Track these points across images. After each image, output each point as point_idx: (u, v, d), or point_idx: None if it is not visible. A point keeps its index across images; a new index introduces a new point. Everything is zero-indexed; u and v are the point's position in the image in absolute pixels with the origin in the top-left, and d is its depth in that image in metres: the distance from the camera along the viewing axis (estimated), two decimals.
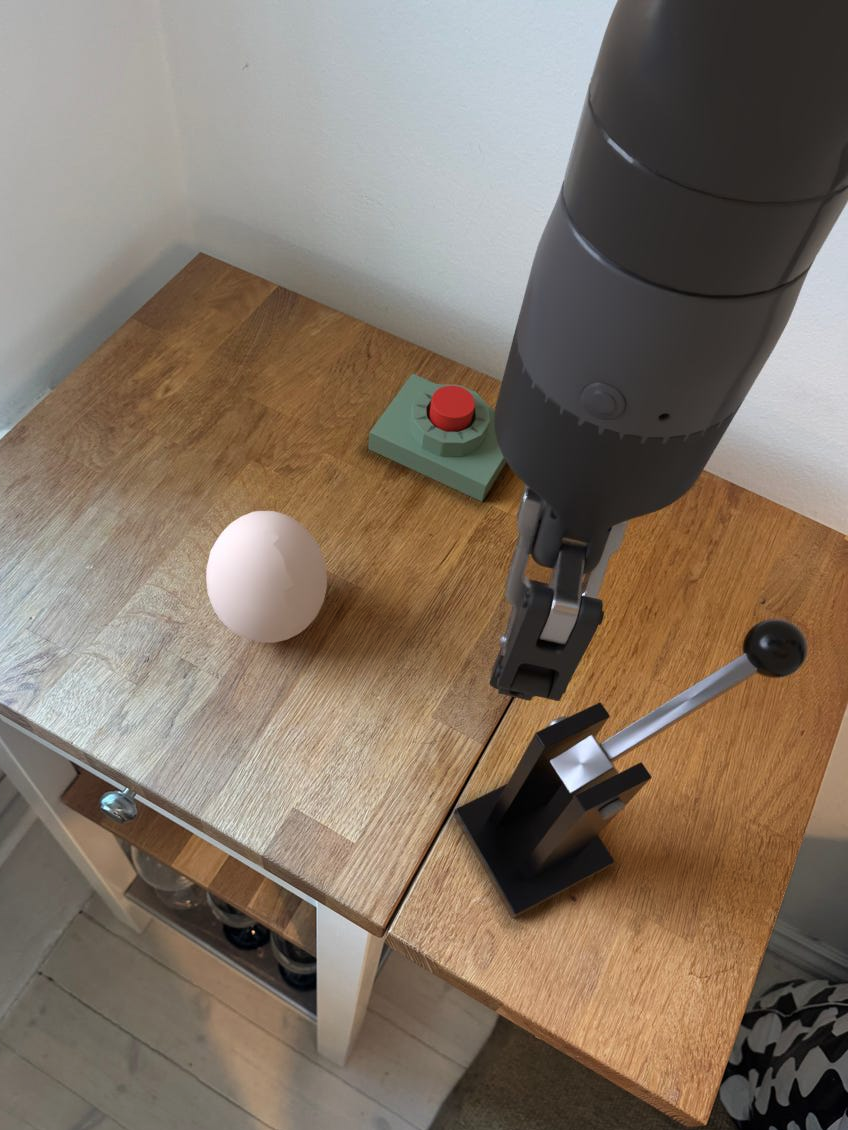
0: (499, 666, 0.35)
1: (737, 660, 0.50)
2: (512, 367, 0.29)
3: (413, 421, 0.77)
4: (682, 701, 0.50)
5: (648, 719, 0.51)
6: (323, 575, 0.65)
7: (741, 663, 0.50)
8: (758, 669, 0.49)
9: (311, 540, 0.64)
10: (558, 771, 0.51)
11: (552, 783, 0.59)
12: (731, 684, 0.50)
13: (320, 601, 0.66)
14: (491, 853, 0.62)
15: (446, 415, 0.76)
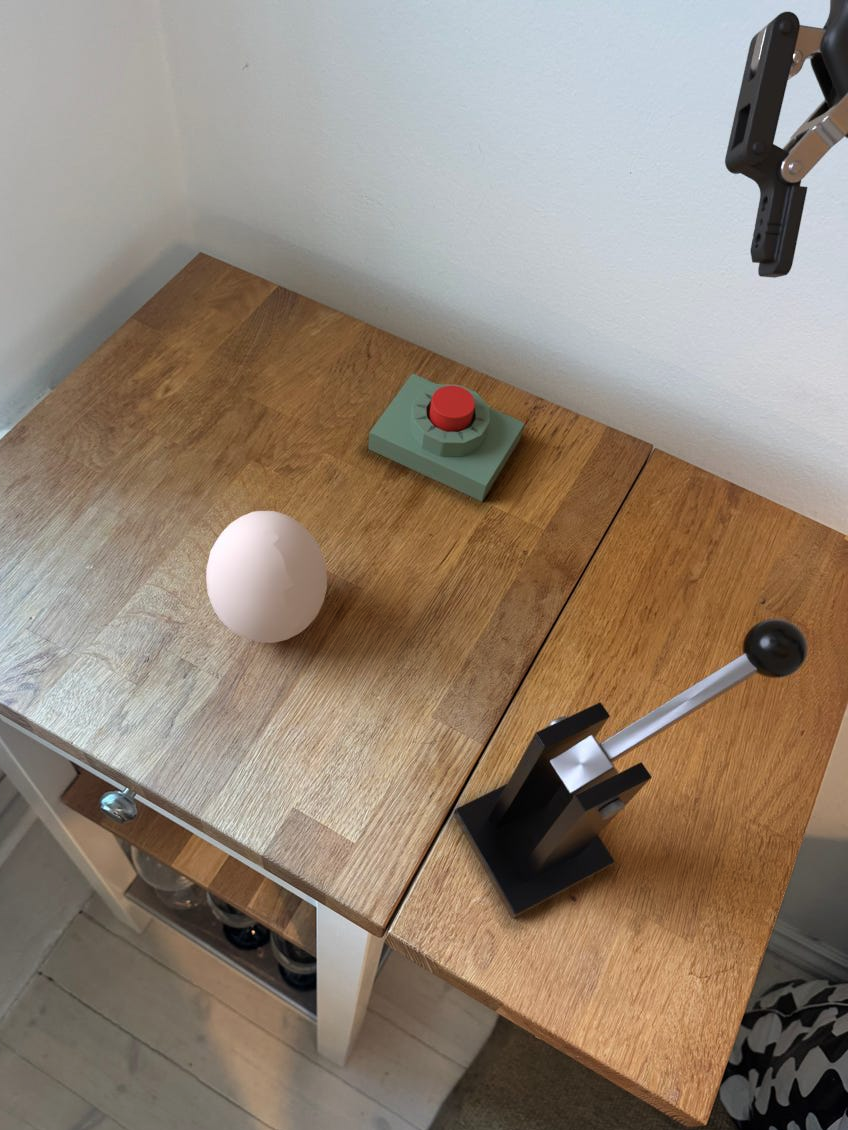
0: None
1: (737, 660, 0.50)
2: None
3: (413, 421, 0.77)
4: (682, 701, 0.50)
5: (648, 719, 0.51)
6: (323, 575, 0.65)
7: (741, 663, 0.50)
8: (758, 669, 0.49)
9: (311, 540, 0.64)
10: (558, 771, 0.51)
11: (552, 783, 0.59)
12: (731, 684, 0.50)
13: (320, 601, 0.66)
14: (491, 853, 0.62)
15: (446, 415, 0.76)
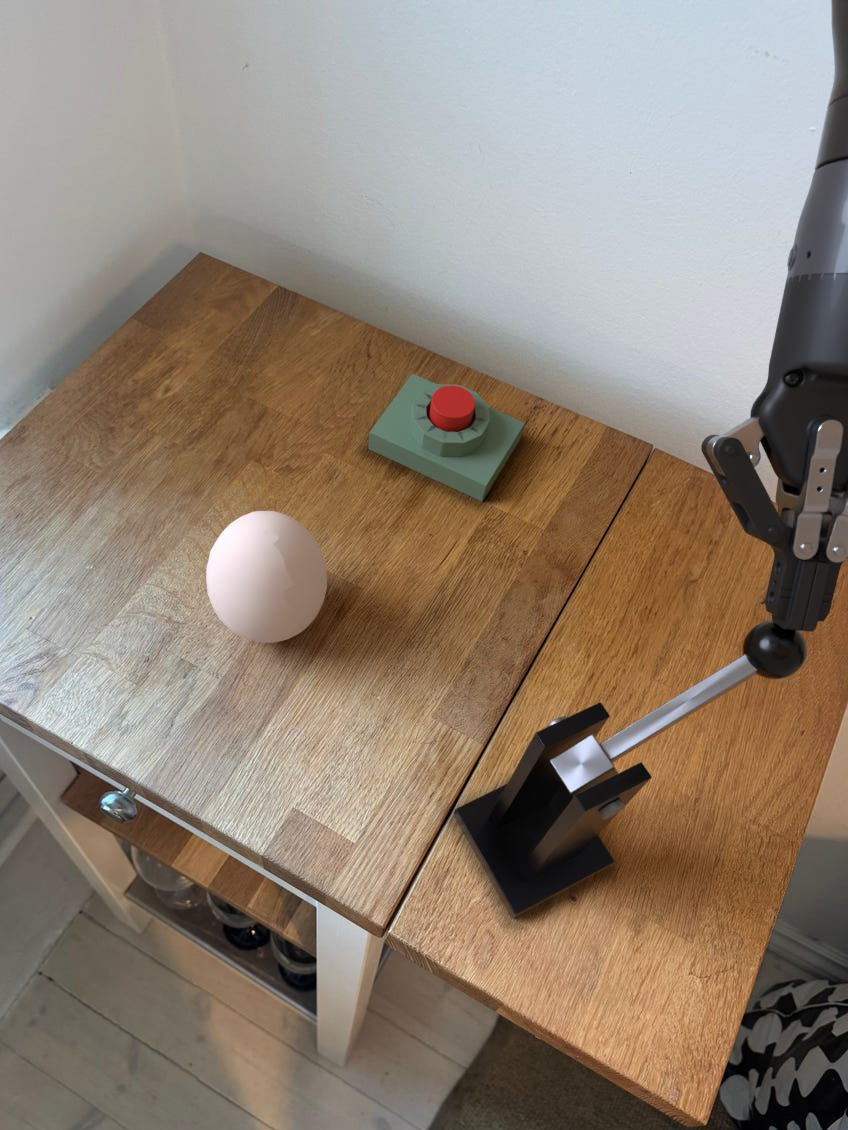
0: None
1: (737, 661, 0.50)
2: None
3: (413, 421, 0.77)
4: (682, 701, 0.51)
5: (649, 719, 0.51)
6: (323, 575, 0.65)
7: (741, 664, 0.50)
8: (758, 670, 0.50)
9: (311, 540, 0.64)
10: (558, 771, 0.51)
11: (552, 783, 0.59)
12: (731, 685, 0.50)
13: (320, 601, 0.66)
14: (491, 853, 0.62)
15: (446, 415, 0.76)
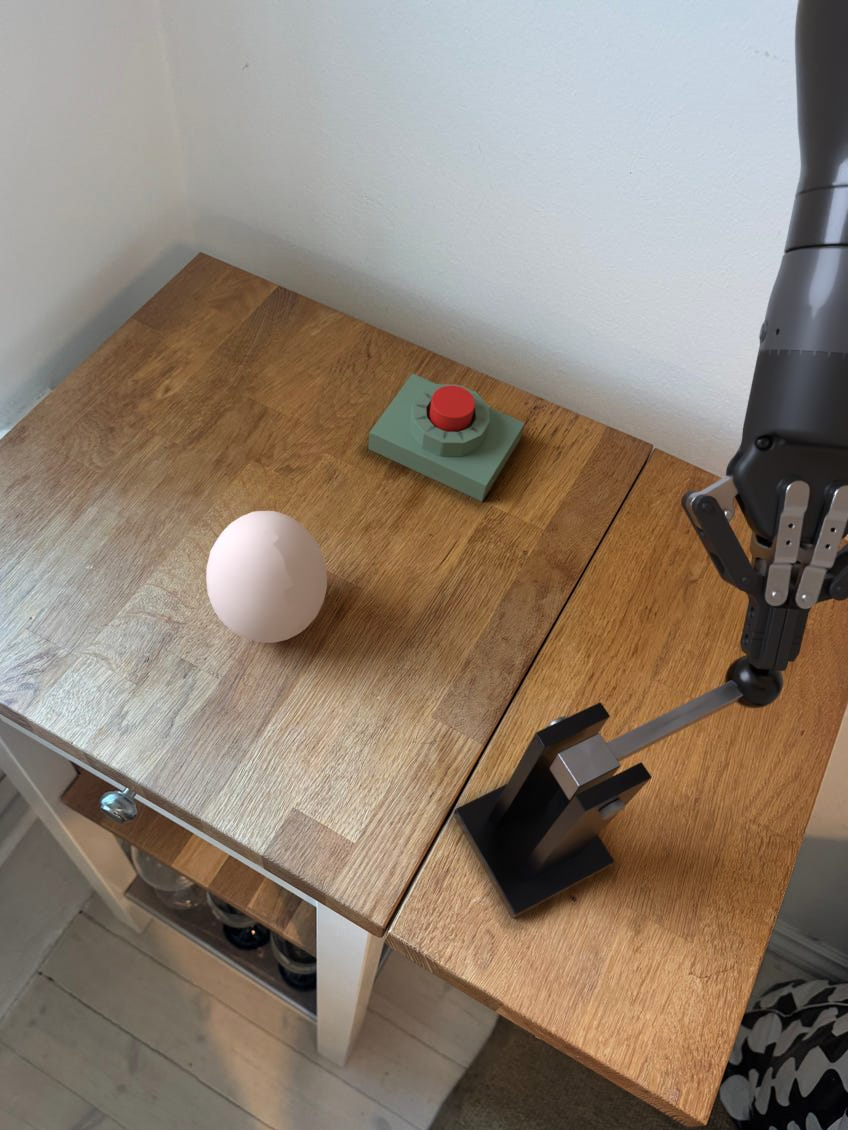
0: None
1: (725, 685, 0.54)
2: None
3: (413, 421, 0.77)
4: (678, 715, 0.53)
5: (648, 727, 0.53)
6: (323, 575, 0.65)
7: (729, 688, 0.54)
8: (744, 695, 0.54)
9: (311, 540, 0.64)
10: (567, 764, 0.51)
11: (552, 783, 0.59)
12: (721, 705, 0.53)
13: (320, 601, 0.66)
14: (491, 853, 0.62)
15: (446, 415, 0.76)
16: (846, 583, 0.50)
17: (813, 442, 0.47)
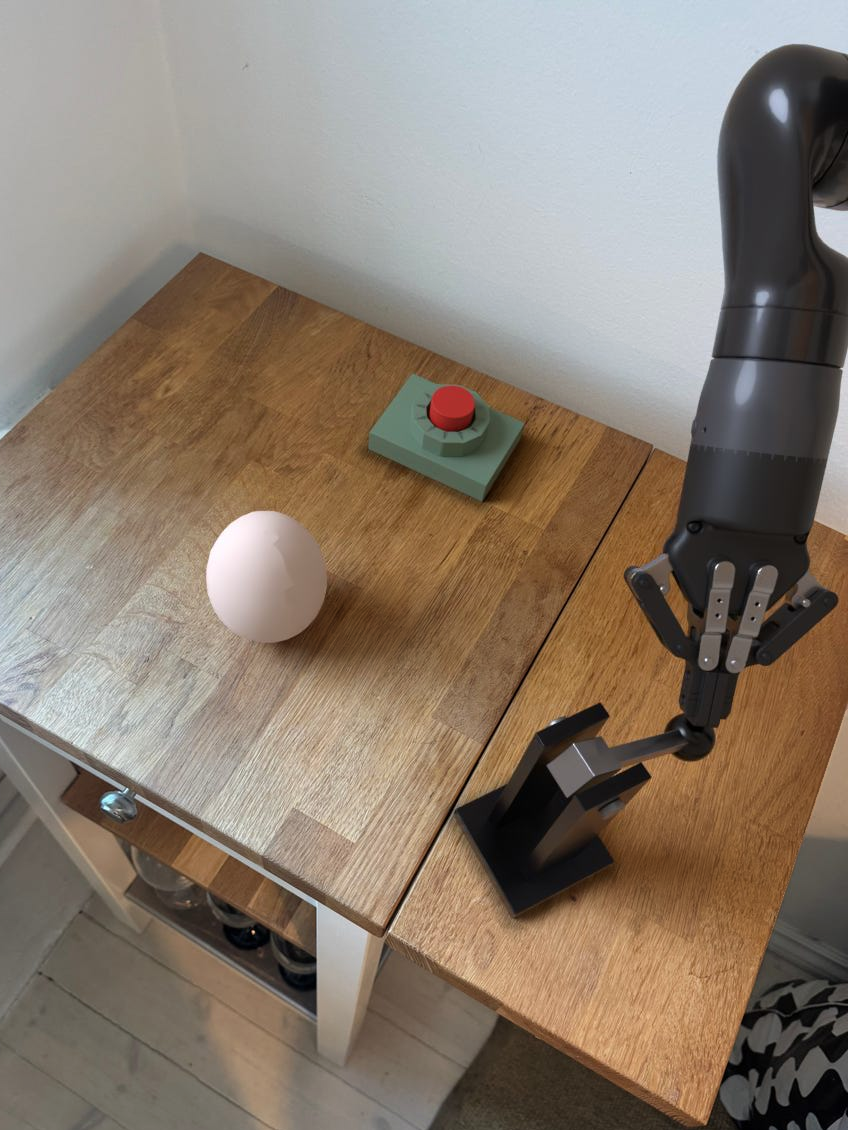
0: None
1: (676, 731, 0.59)
2: None
3: (413, 421, 0.77)
4: (649, 744, 0.56)
5: (629, 746, 0.55)
6: (323, 575, 0.65)
7: (678, 734, 0.59)
8: (689, 743, 0.59)
9: (311, 540, 0.64)
10: (582, 754, 0.50)
11: (552, 783, 0.59)
12: (676, 746, 0.58)
13: (320, 601, 0.66)
14: (491, 853, 0.62)
15: (446, 415, 0.76)
16: (771, 651, 0.56)
17: (736, 529, 0.52)
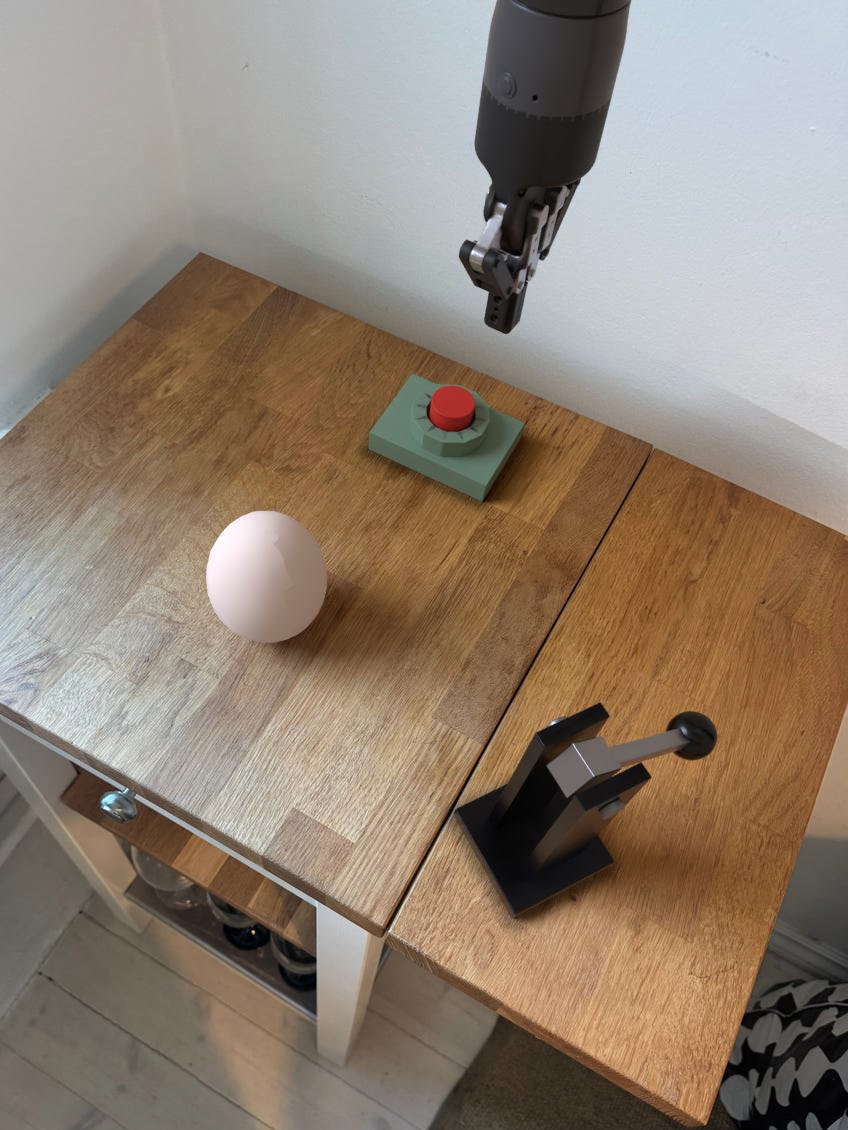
0: None
1: (677, 730, 0.59)
2: None
3: (413, 421, 0.77)
4: (650, 743, 0.56)
5: (630, 746, 0.55)
6: (323, 575, 0.65)
7: (680, 733, 0.58)
8: (690, 742, 0.59)
9: (311, 540, 0.64)
10: (581, 754, 0.50)
11: (552, 783, 0.59)
12: (677, 745, 0.57)
13: (320, 601, 0.66)
14: (491, 853, 0.62)
15: (446, 415, 0.76)
16: (548, 245, 0.64)
17: (566, 184, 0.55)
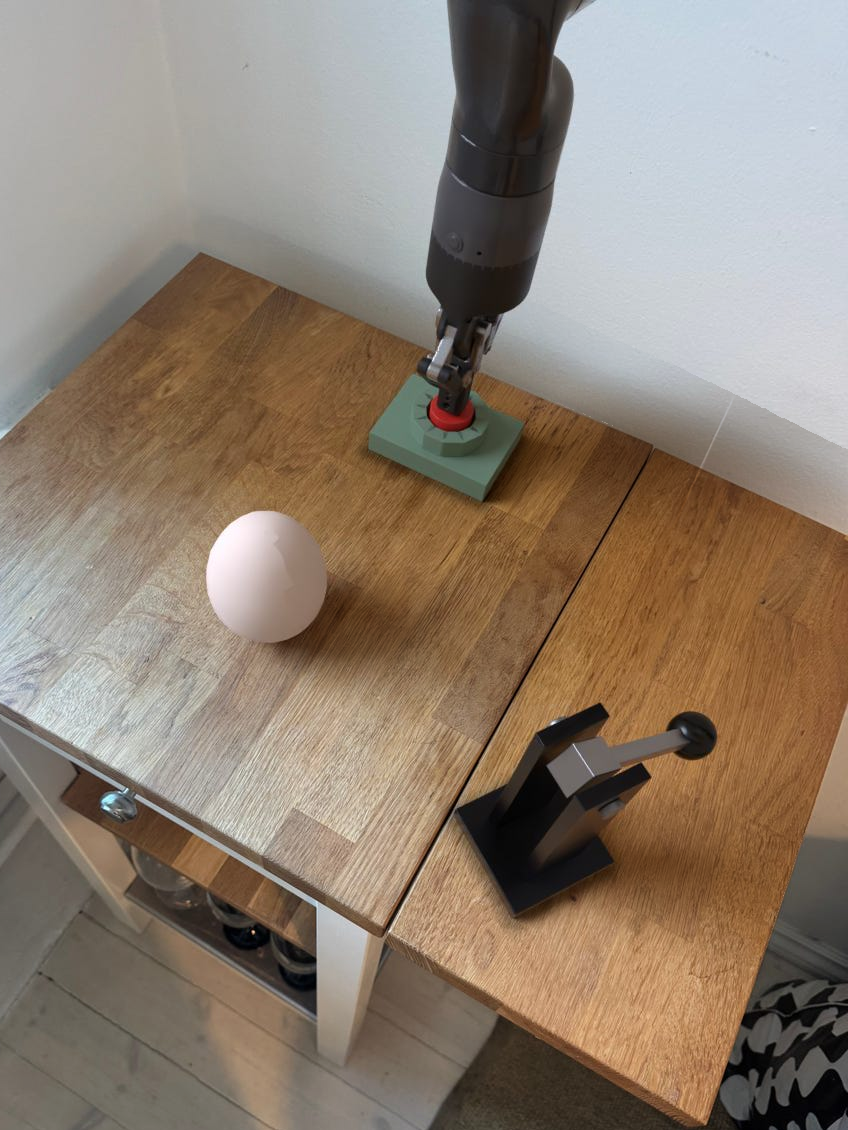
0: None
1: (677, 730, 0.59)
2: (431, 230, 0.63)
3: (413, 421, 0.77)
4: (650, 743, 0.56)
5: (630, 746, 0.55)
6: (323, 575, 0.65)
7: (680, 733, 0.58)
8: (690, 742, 0.59)
9: (311, 540, 0.64)
10: (581, 754, 0.50)
11: (552, 783, 0.59)
12: (677, 745, 0.57)
13: (320, 601, 0.66)
14: (491, 853, 0.62)
15: (445, 420, 0.76)
16: None
17: None
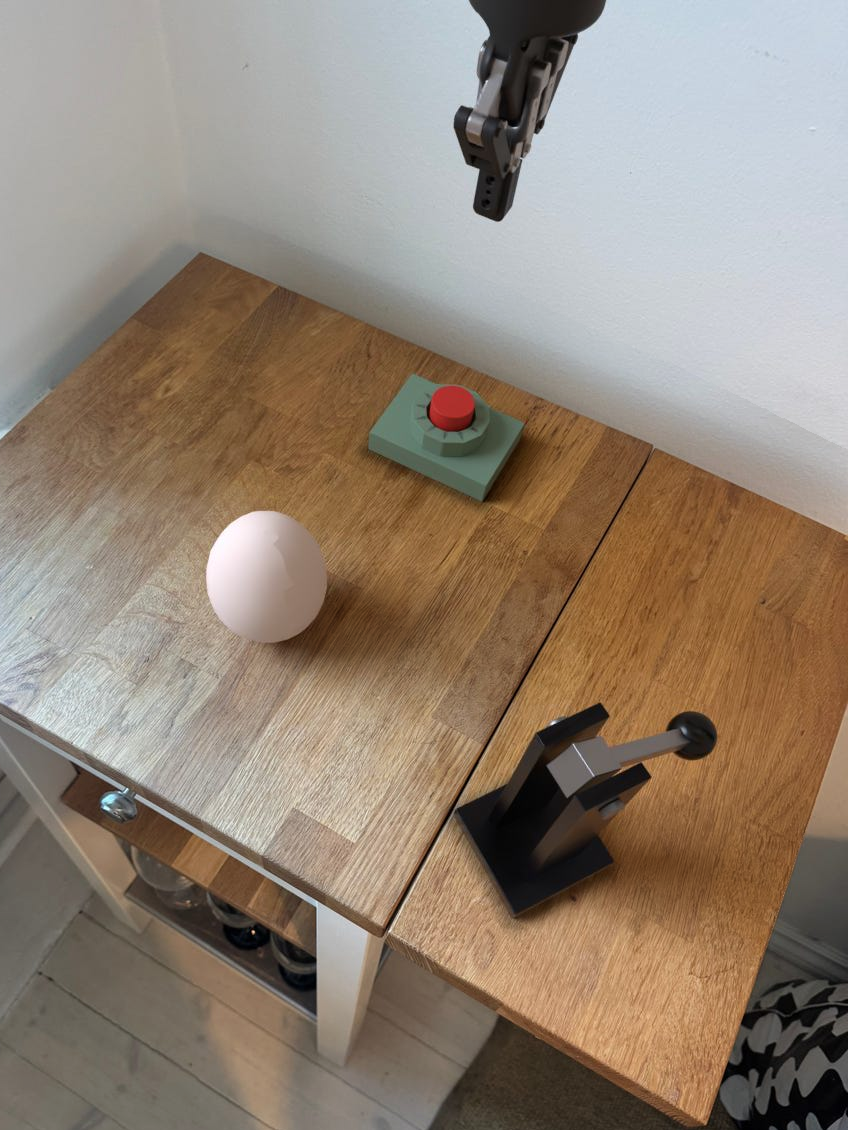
0: None
1: (677, 730, 0.59)
2: None
3: (413, 421, 0.77)
4: (650, 743, 0.56)
5: (630, 746, 0.55)
6: (323, 575, 0.65)
7: (680, 733, 0.58)
8: (690, 742, 0.59)
9: (311, 540, 0.64)
10: (581, 754, 0.50)
11: (552, 783, 0.59)
12: (677, 745, 0.57)
13: (320, 601, 0.66)
14: (491, 853, 0.62)
15: (446, 415, 0.76)
16: (543, 116, 0.57)
17: (574, 34, 0.49)
